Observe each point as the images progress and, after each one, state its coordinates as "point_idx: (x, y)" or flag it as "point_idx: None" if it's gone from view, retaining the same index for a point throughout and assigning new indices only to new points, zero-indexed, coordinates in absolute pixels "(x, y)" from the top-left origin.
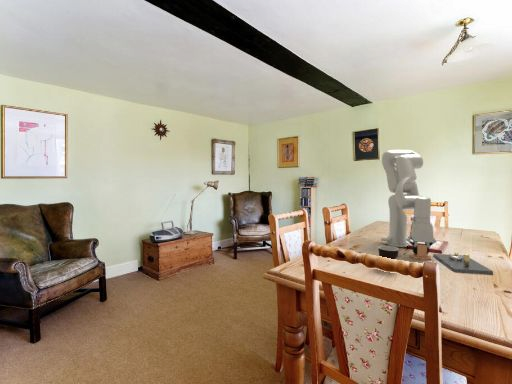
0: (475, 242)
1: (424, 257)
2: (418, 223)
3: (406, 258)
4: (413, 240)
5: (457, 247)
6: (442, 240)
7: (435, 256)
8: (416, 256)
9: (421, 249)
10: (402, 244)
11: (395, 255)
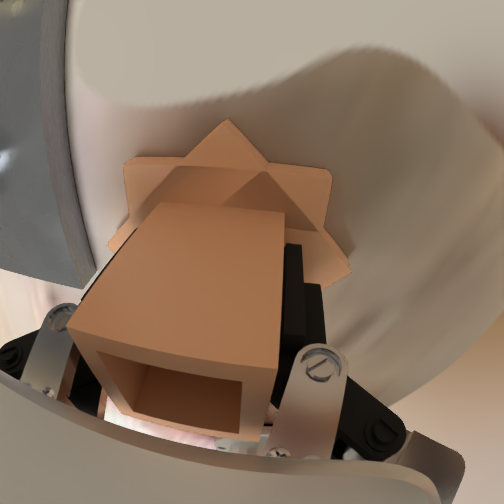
0: None
1: (201, 166)
2: None
3: (431, 187)
4: (428, 490)
5: None
6: None
7: (74, 234)
8: (303, 204)
9: (204, 277)
10: (263, 443)
11: None
